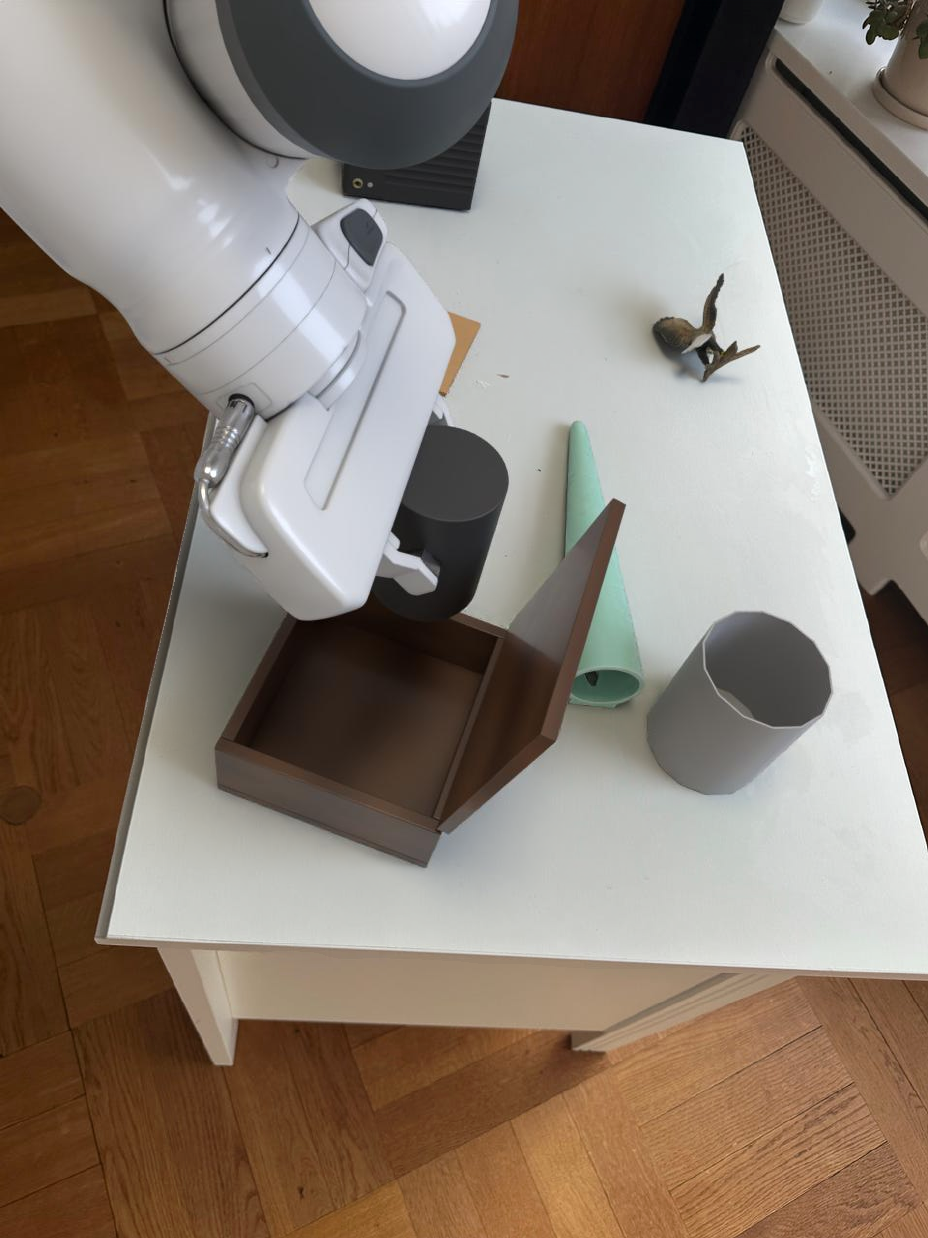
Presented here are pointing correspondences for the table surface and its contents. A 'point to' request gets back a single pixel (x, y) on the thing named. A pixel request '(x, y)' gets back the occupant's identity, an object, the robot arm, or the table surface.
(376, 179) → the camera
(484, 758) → the chest lid
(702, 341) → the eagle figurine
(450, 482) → the dark grey cylinder
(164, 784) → the table surface
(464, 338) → the cork mat
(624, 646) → the mint green cone
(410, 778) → the chest
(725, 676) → the cup
